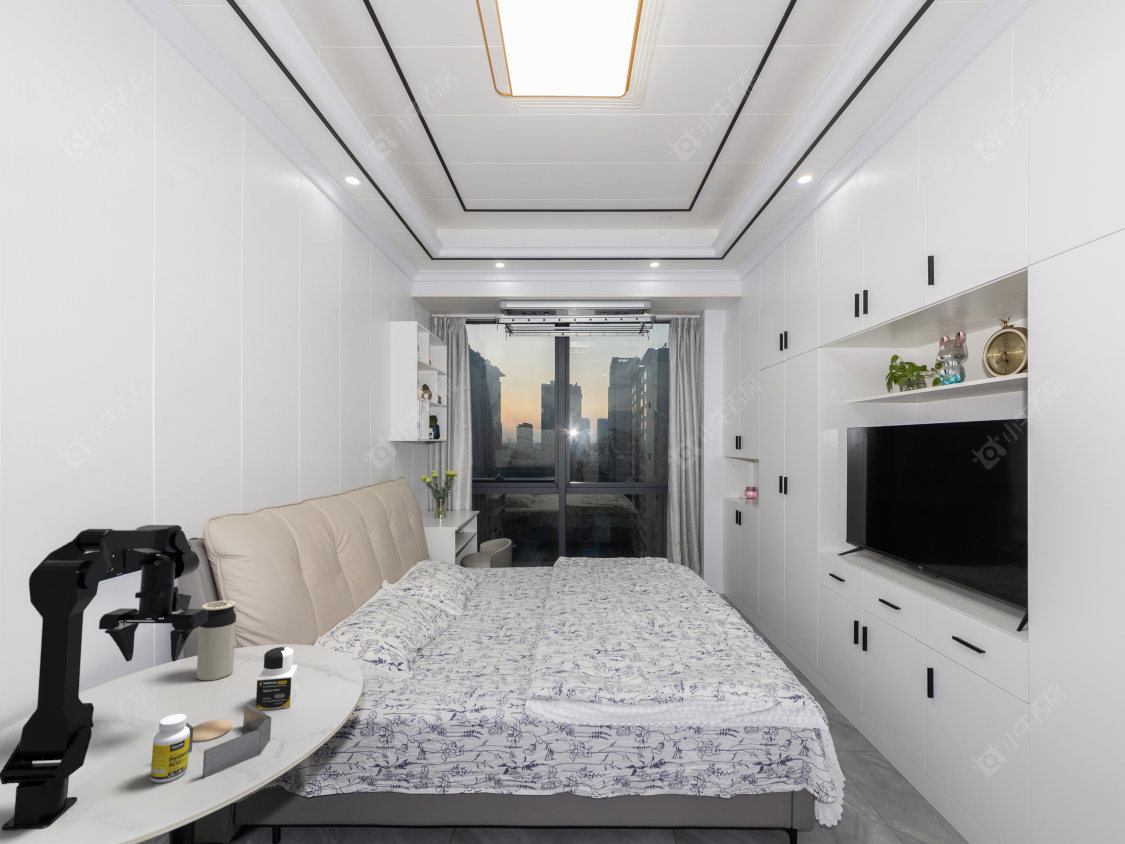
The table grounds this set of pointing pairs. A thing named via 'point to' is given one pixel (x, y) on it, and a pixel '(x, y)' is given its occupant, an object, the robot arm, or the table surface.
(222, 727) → the coaster
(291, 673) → the medicine bottle
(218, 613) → the travel mug
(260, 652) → the table surface
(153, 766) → the supplement bottle
